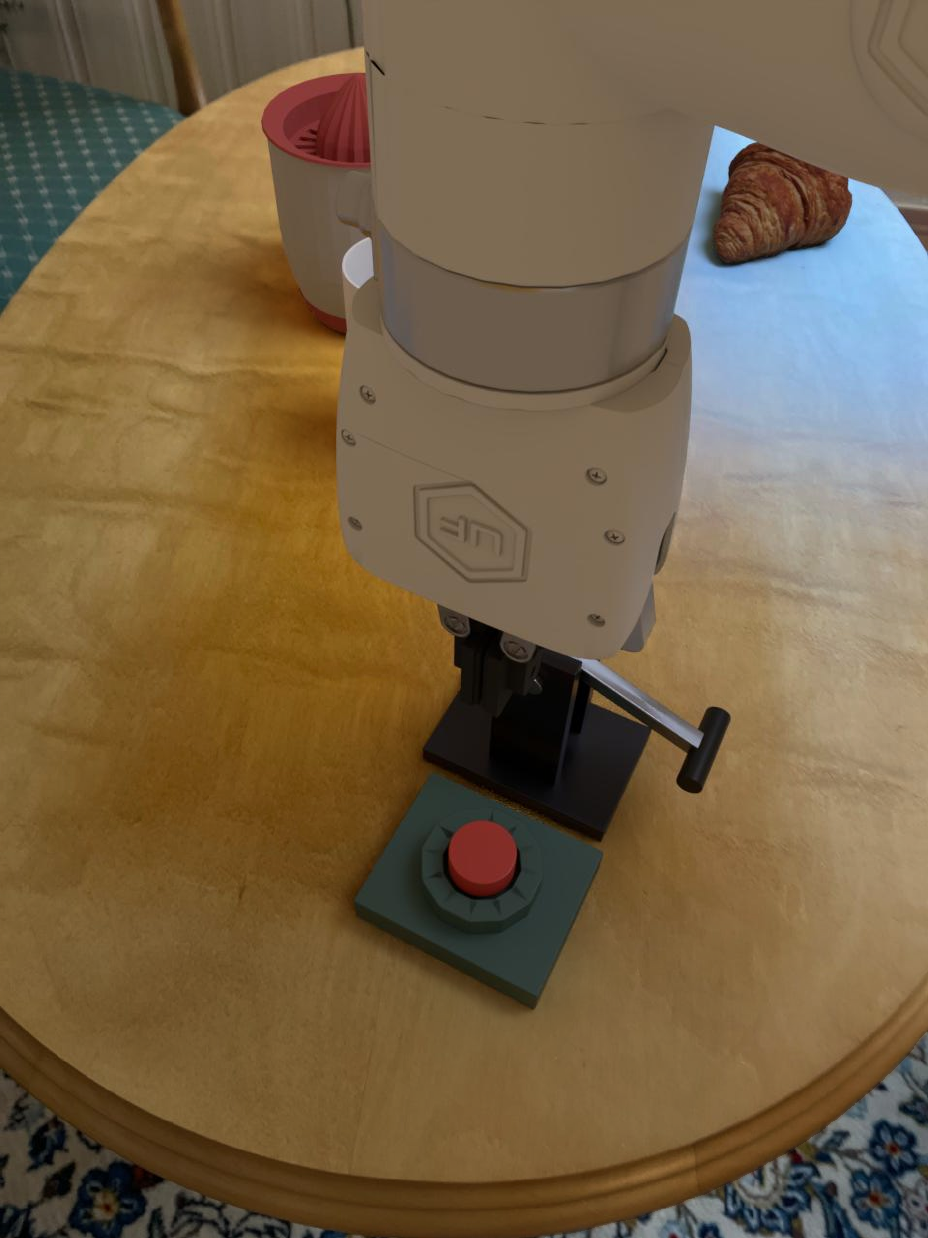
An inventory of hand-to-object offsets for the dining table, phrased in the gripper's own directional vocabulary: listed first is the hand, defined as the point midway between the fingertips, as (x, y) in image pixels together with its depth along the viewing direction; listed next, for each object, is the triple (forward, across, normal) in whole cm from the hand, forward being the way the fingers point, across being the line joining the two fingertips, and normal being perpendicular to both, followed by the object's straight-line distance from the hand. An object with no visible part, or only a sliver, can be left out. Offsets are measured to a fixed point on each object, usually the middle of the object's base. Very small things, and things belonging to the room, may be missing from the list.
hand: (495, 682), depth 39 cm
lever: (+13, +3, +10) cm, 17 cm away
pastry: (+21, -5, +78) cm, 81 cm away
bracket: (+21, -1, +10) cm, 23 cm away
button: (+18, 0, 0) cm, 18 cm away
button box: (+21, 0, 0) cm, 21 cm away
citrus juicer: (+21, -34, +47) cm, 62 cm away
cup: (+21, -22, +31) cm, 44 cm away
